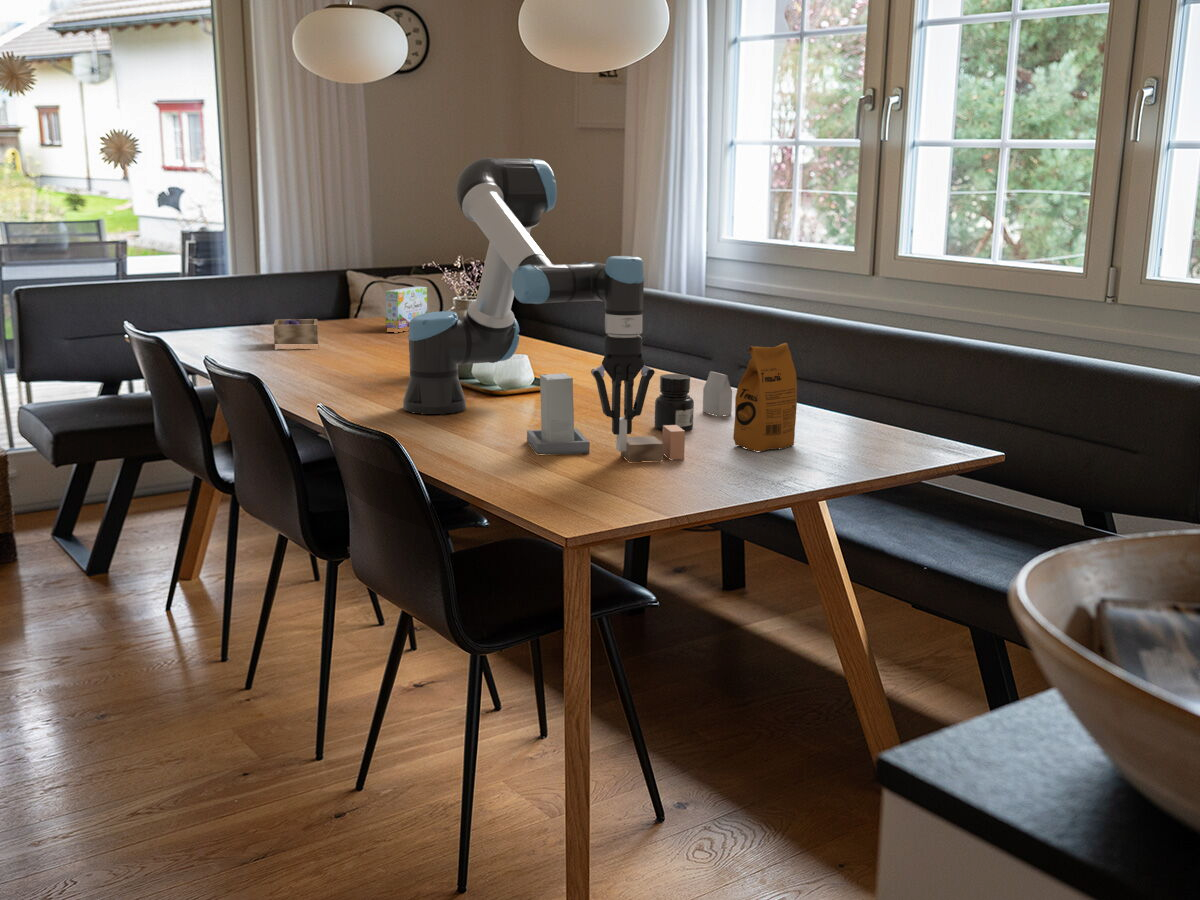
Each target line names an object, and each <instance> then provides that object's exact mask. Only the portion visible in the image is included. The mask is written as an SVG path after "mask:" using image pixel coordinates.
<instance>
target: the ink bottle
mask: <svg viewBox="0 0 1200 900" xmlns="http://www.w3.org/2000/svg"><path fill="white" fill-rule="evenodd" d="M659 389H660V390H659V393H660V394H659V396H657V398H655V400H654V428H656V429H658V430H660V429H661V431H663V425H677V426H679V427H680V428H682V429H683V430H685V431H689V430H692V428H693V427H694V412H695V410H694V409H695V407H694V406H695V404H694V403H695V402H694V399H693V398H692V397H691V396H690V395H689V393H690V390H691V376H690V375H687V374H682V373H681V374H680V373H667V374H662V375H660V376H659Z"/></svg>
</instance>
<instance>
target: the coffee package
mask: <svg viewBox="0 0 1200 900" xmlns="http://www.w3.org/2000/svg"><path fill="white" fill-rule="evenodd" d="M747 351H748V353H749V354H750V356H751V358H750V359H749V361H748V365H747V367H746V370H745V372H744V374H743V375H742V377H741V379H740V381H739V384H738V386H737V389H736V393H735V396H734V398H735V400H734V401H735V405H734V409H735V410H734V426H733V438H732V439H733V441H734V444H735V446H736V445H739V447H740V446H742V447H745V448H747V449H746V450H748V449H749V450H748V451H750V450H755V451H763V452H765V451H764V450H766V451H768V450H776V449H779V448H784V449H786V448H785V447H787V448H789V447H793V446H795V436H796V435H795V434H796V432H795V431H796V419H797V406H798V405H797V404H798V401H797V398H798V381H797V372H796V369H795V364H794V361H793V358H792V354H791V351H790V349H789V345H788V343H787V342H784V343H781V344H779V345H776V346H774V347H769V346H766V347H765V346H752V345H750V346H749V348H748V349H747ZM788 446H789V447H788ZM742 447H741V448H742Z"/></svg>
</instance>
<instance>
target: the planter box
mask: <svg viewBox="0 0 1200 900" xmlns="http://www.w3.org/2000/svg"><path fill="white" fill-rule="evenodd" d="M297 319H298V318H297ZM297 319H293V320H297ZM287 320H291V321H293V320H292V318H291V319H290V318H289V319H274V322H273V340H274V341H273V343H274V345H275V344H318V345H319V327H318V326H319V324H318V321H319V320H318V319H317V318H307V319H304V318H303V319H302V318H299V319H298V320H299V325H284V323H285V322H286V321H287Z"/></svg>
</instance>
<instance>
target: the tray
mask: <svg viewBox="0 0 1200 900" xmlns="http://www.w3.org/2000/svg"><path fill="white" fill-rule="evenodd" d="M527 441H528V442H527ZM526 442H527V444H528V443H529V444H530V445H531V446H530V445H529V444H528V445H529V446H530V448H531V447H532V448H533V449H534V450H533V449H532V448H531V449H532V450H533V452H534V451H535V452H536V453H537V454H565V455H583V454H582V453H589V454H590V441H589V440H588V438H587V437H586V436H584V434H583V433H581V431H580V430H579V429H578V428H574V441H569V442H542V432H541V429H532V430H531V429H528V430H526ZM535 452H534V453H535ZM536 453H535V454H536ZM575 453H577V454H575ZM580 453H581V454H580Z"/></svg>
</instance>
